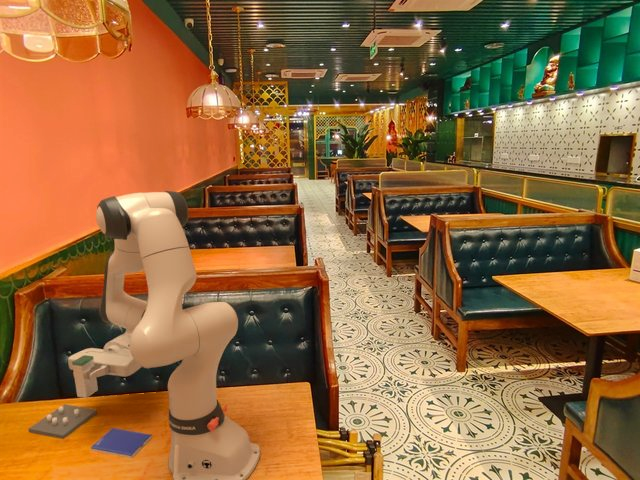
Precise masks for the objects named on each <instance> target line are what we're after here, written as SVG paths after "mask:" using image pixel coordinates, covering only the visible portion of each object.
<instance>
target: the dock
mask: <svg viewBox="0 0 640 480" xmlns="http://www.w3.org/2000/svg"><path fill="white" fill-rule="evenodd" d="M96 414H98V410H97V409H94V408H90V407H89V408H88V407H83V406H77V405H70V404H62V405H61V406H59V407H57V409H54V410H53V411H52V412H51V413H49V414H48V413H47V414H46V416H45V417H44V418H42V419H40V420H38V422H36V423H34V424H33V425H32V426H30V427H29V428H28V433H33V434H38V435H42V436H48V437H53V438H58V439H63V440H64V439H65V438H67V437H68V436H69V435H70V434H72V433H73V432H74V431H76V430H77V429H78V428H79V427H81V426H82V425H84V424H85V423H86V422H87V421H89V420H90V419H92V418H93V417H94V416H95V415H96Z"/></svg>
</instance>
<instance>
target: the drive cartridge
mask: <svg viewBox="0 0 640 480" xmlns="http://www.w3.org/2000/svg"><path fill="white" fill-rule="evenodd" d="M72 365H73V370H72V371H73V372H74V375H73V378H74V383H75V384H74V385H75V390H76V395H77V397H78V398H85V399H87V398H89V397H90V396H92V395H93V394H94V393H95V392H98V390H99V387H98V379H97V377H96V378H95V379H93V380H91V379H87V373H89V372H90V371H95V366H94V359H93V356H87V355H84V356H82V357H80V358H78V359H77V360H75V361H73V362H72Z"/></svg>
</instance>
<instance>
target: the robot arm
mask: <svg viewBox="0 0 640 480" xmlns="http://www.w3.org/2000/svg"><path fill="white" fill-rule="evenodd" d="M96 207H97V208H96V212H95V213H96V214H95V218H96V219H95V220H96V223H97V226H98V228H99V230H100V231H101V233H102V235H104V236H105V237H107V238H109V239H111V240H113V241H114V251H111V253H110V254H109V255H108V256H107V258H106V261H105V266H104V275H103V276H104V277H103V287H102V288H103V289H102V297H101V301H100V303H99V308H98V309H99V310H98V311H99V315H100V319H101V321H102V322H104V323H106V324H109V325H113V326H118V327H120V328H123V329H125V331H124V333H123V334H120V335H118V336H117V337H115V338H113V339H111V340H110V341H108V342H106V343H105V345H104V346H103V349H102V348H97V347H96V348H95V347H89V348H84V349H83V350H81V351H78V352H76V353H73V354H72V355H70V356H69V357H68V359H67V361H68V368H69V370H71V371H73V365H72V362H73V361H75V360H77V359H78V358H80V357H82V356H84V355H87V356H93V359H94V366H95V371H90V372H89V373H87V379H91V380H93V379H95V378H96V379H97V378H99V377H103V376H106V375H110V376H116V377H125V378H126V377H129V376H131V375H133V374H135V373H136V372H137V371H139V370H140V369H141V368H144V369H151V368H160V367H164V366H168V365H172V364H174V363H177V362H179V361H181V363H180V364H179V365H178V366H177V367H175V370H174V371H173V372H172V373H171V375H170V377H169V379H168V382H167V392H168V393H167V394H168V402H169V404H168V406H169V409H168V423H169V428H170V431H171V432H170V433H171V443H170V451H169V458H168V461H167V462H168V470H169V471H170V472H171V473H172V475H173V476H172V477H173V478H172V479H173V480H247V479H248V478H249V477H250V475H252V473H253V472H254V470H255V469H256V467H257V465H258V463H259V461H260V457H261V449H260V446H259V444H257V443H253V442H251V440H250V436H249V433H248V432H247V431H246V429H245V428H243V427H241V426H240V425H239V424H238V422H236V421H233V420H232V419H231V418H229V417H228V416H227V415H225V413H226V412H227V411H228V405H227V404H226V405H225V406H224V407H222V405H221V404H220V402H219V400H218V398H217V372H218V368H219V364H220V361H221V358H222V356H223V353H224V351H225V349H226V347H227V346H228V344H229V343H230V341H232V339H233V338H234V337H235V336H236V334H237V331H238V327H239V319H238V315H237V312H236V310H235V309H234V307H233V306H231V304H229V303H227V302H225V301H214V302H213V301H212V302H211V301H210V302H204V303H202V304H198V305H194V306H191V307H187V308H184V309H183V298H184V295H186V293H187V292H189V291H190V290H191V289H192V288H193V287H194V285H195V283H196V280H197V274H198V273H197V270H196V267H195V263H194V260H193V257H192V253H191V249H190V245H189V242H188V239H187V237H186V233H185V231H184V227H185V226H186V224H187V222H188V221H189V216H190V215H189V214H190V213H189V207H188V203H187V201H186V198H185V197H184V195H182V194H181V193H180V192H178V191H175V190H174V191H173V190H165V191H161V192H160V191H149V192H141V191H139V192H135V193H134V192H133V193H127V194H124V195H120V196H110V197H107V198H104V199H102V200H100V201H99V202H98V204H97V206H96ZM143 271H144V274H145V279H146V284H147V291H148V298H147V301H146V300H144V299H139V298H137V297H135V296H132V295H129V294H128V293H127V292H126V291H124V285H125V275H126V274H136V273H140V272H143ZM72 374H73V376H74V371H73V373H72Z"/></svg>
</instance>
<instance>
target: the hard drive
mask: <svg viewBox="0 0 640 480" xmlns="http://www.w3.org/2000/svg"><path fill="white" fill-rule="evenodd" d="M152 438H153V435H152V434H150V433H149V434H148V433H143V432H138V431H132V430H129V429H128V430H127V429H122V428H115V427H112V428H111V429H110V430H108V432H105V434H104V435H103V436H101V438H99V439H98V440H97V441H96V442H95V443H93V444H92V446H90V451H93V452H98V453H99V452H100V453H103V454H104V453H105V454H109V455H115V456H119V457H120V456H121V457H124V458H129V459H133V458H134V456H136V455H137V453H138V452H140V450H142V449H143V447H145V445H147V444H148V442H149V441H151V439H152Z"/></svg>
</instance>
